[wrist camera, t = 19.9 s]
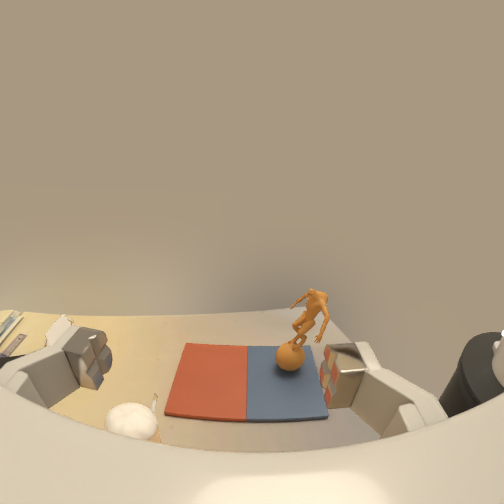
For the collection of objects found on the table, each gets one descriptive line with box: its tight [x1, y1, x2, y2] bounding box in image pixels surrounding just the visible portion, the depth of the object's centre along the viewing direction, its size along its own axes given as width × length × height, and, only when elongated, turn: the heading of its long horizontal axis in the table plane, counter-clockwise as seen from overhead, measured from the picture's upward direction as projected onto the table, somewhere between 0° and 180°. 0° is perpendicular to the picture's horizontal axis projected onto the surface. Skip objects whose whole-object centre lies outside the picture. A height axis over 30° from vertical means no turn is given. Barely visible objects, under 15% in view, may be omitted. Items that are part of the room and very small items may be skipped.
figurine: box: [275, 289, 329, 371], centre depth 33 cm, size 8×6×12 cm
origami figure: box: [44, 314, 74, 347], centre depth 33 cm, size 12×8×5 cm
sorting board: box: [164, 343, 329, 422], centre depth 33 cm, size 19×14×1 cm
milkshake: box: [105, 394, 162, 444], centre depth 18 cm, size 4×5×10 cm
